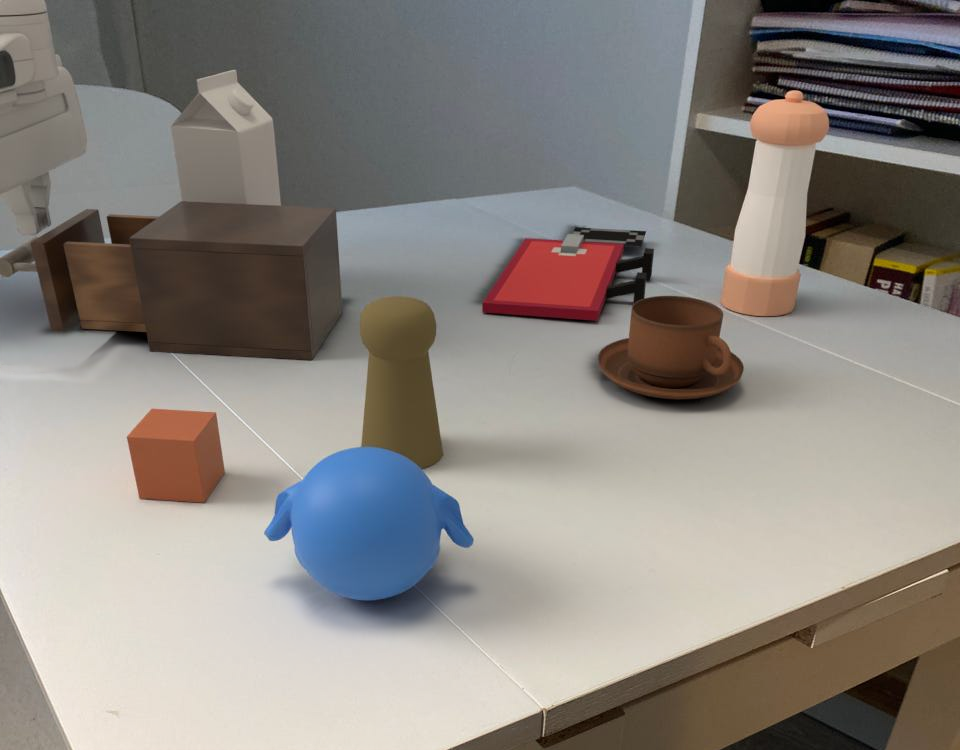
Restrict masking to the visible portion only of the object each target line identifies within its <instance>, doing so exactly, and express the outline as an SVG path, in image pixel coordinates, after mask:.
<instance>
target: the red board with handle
mask: <svg viewBox="0 0 960 750" xmlns="http://www.w3.org/2000/svg"><path fill="white" fill-rule="evenodd" d="M646 233H647V230H633V229H632V230H631V229H615V228H614V229H612V228H596V227H581V226H580V227H579V226H575V227H574V229H573V231H572V232H571V233H567V234H566V236H565V238H564V240H563V239H560V240H559V239H544V238H527V237H526V238H524V239H523V241H522V243H521V244H520V246H519V247H518V248H517V250H516V252H515V253H514V255H513V256H512V257H511V259H510V260H509V262H508V264H507V265H506V267H505V268H504V270H503V271H502V273H500V276H499V277H498V279H497V280H496V282H495V283H494V285H493V286H492V288H491V289H490V291H489V292H488V293H487V295H486V297H485V298H484V300H483V301H482V306H481V307H482V313H486V314H487V313H488V314H498V315H499V314H500V315H513V316H525V317H526V316H528V317H540V318H553V319H554V318H557V319H570V320H583V321H595V322H597V321H598V320H599V318H600V316H601V313H602V310H603V308H604V304H605V301H606V299H610V298H611V299H612V298H616V297H621V296H626V295H631V294H633V301H632V302H633V303H632V305H633V304H634V303H635V302H637V301H639V300H641V299H644V298H646V286H647V284H646V283H647V282H650V281H651V278H652V273H653V264H654V252H655V248H653V247H652V248H650V247H645V248H644V250H643V255H640V256H635V257H631V258H626V259H622V257H623V254H624V250H625V249H624V248H625V247H635V248H641V247H642V246H643V242H644V240H645V236H646ZM638 269H641V271H640V272H639V271H637V273H636V275H635V278H634V280H630V281H625V282H621V283H616V284H615V283H614V284H613V281H614V278H615V275H616V274H618V273H622V272H623V273H624V272H627V271H633V270H638Z"/></svg>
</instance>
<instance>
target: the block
mask: <svg viewBox="0 0 960 750" xmlns="http://www.w3.org/2000/svg"><path fill="white" fill-rule="evenodd" d="M126 440H127V445H128V446H127V447H128V449H129V454H130V460H131V464H132V469H133V475H134V478H135V483H136V488H137V494H138V498H139V499H143V500H144V499H145V500H159V501H173V502H188V503H190V502H191V503H203V504H204V503H206V501H207V500H208V498H209V497H210V495H211V493H212V492H213V490H214V489H215V487H216V486H217V485H218V483H219V482H220V480H221V479H222V478H223V476H224V474H225V472H226V471H225V463H224V456H223V450H222V444H221V443H222V442H221V436H220V429H219V423H218V417H217V412H216V411H202V410H201V411H200V410H199V411H198V410H182V409H169V408H168V409H167V408H151V409H150V410H149V411H148V412H147V413H146V415H145V416H143V418H142V419H141V420H140V421H139V422H138V423H137V424H136V426H134V428H133V429H132V430H131V431H130V432H129V433H128V434H127V436H126Z"/></svg>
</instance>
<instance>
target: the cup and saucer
mask: <svg viewBox="0 0 960 750" xmlns="http://www.w3.org/2000/svg"><path fill="white" fill-rule="evenodd" d="M723 319H724V312H723V310H722V309H721V308H720V307H719V306H718V305H715V303H712V302H710V301H706V300H702V299H699V298H695V297H689V296H681V295H657V296H655V295H654V296H649V297H644V299H641V300H639V301H637V302H635V303H634V304H633V303H632V306H631V311H630V321H629V333H628V337H627V338H622V339H619V340H616V341H613V342H611V343H608V344H607V345H605V346H604V347H603V348H602V349H601V350H600V351H599V352H598V356H597V360H598V366H599V369H600V370H601V372H602V373H603V374H604V375H605V376H606V377H607V378H608V379H609V380H610V381H611V382H612V383H614V384H615V385H617V386H619V387H621V388H622V389H624V390H628V391H630V392H633V393H636V394H639V395H642V396H647V397H651V398H657V399H666V400H695V399H702V398H708V397H711V396H715V395H718V394H720V393H723V392H725V391H727V390H729V389H730V388H732V387H733V386H734V385H736V384H737V383H738V382H739V381H740V379H741V378H742V376H743V373H744V369H745V367H744V366H745V365H744V363H743V361H742V360H741V358H739V357H738V356H737V355H736V354H735V353H734V352H732V351H731V349H730V346H729V344H728V343H727V342H726V341H725V340H724V339H723V338H721V337H720V336H721V332H722V331H721V330H722V324H723Z"/></svg>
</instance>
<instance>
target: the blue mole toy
mask: <svg viewBox="0 0 960 750" xmlns="http://www.w3.org/2000/svg"><path fill="white" fill-rule="evenodd" d="M274 507H275V508H274V516H273V517H272V519H271V521H270V523H269V524H268V525H267V527H266V528H265V530H264V532H263V534H264V536H265V537H266V538H267V540H268V541H270V542H276V541H280V540H282V539H284V538H285V537H286V536H287V535H288V534H289V533H290V531H291V536H292V541H293V542H292V543H293V547H294V555H295V557H296V559H297V561H298V563H299V564H300V566H301V567H302V568H303V569H304V570H305V571H306V572H307V573H308V575H309V576H310V578H312V579H313V580H314V581H315V582H316V583H317V584H318V585H320V586H321V587H322V588H324V589H326V590H327V591H329V592H331V593H332V594H335V595H337V596H339V597H340V596H341V597H343V598H347V599H351V600H357V601H379V600H385V599H389V598H392V597H394V596H397V595H400V594H403V593H405V592H406V591H408V590H409V589H411V588H413V587H414V586H416V585H417V584H418V583H419V582H420V581H421V580H422V579H423V578H424V577H425V576H426V575H427V573H428V572H429V571H430V570H431V569H432V568H433V567H434V565H435V564H436V562H437V560H438V559H439V555H440V552H441V535H442V530H444V531H445V533H446V534H447V536H448V537H449V539H450V540H451V541H452V542H453V543H454V544H456V545H457V546H458V547H461V548H465V549H467V548H468V549H469V548H470V547H472V546H473V544H474V540H475V539H474V537H473V535H472V534H471V532H470V531H469V530H468V529H467V527H466V525H465V523H464V520H463V516H462V511H461V506H460V503H459V501H458V500H457V498H455V497H453V496H452V495H450V494H449V493H447V492H446V491H444V490H442V489H440V488H439V487H438V486H436V485H434V483H432V481H431V479H430V477H429V476H428V475H427V474H426V473H425V471H424V470H423V469H421V468H420V467H419V466H418V465H416V464H415V463H414V462H413V461H411V460H410V459H408V458H406V457H405V456H403V455H401V454H398V453H396V452H393V451H390V450H387V449H382V448H376V447H361V446H357V447H350V448H346V449H343V450H339V451H337V452H334V453H332V454H330V455H328V456H326V457H325V458H323V459H321V460H320V461H318V462H317V463H316V464H315V465H314V466H312V467H311V469H309V471H308V472H307V473H306V474H305V476H304V477H303V478H302V480H300V481H298V482H296V483H294V484H292V485H290V486H288V487H287V488H285V489H283V490H282V491H281V492H279V493H278V495H276V498H275V506H274Z"/></svg>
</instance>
